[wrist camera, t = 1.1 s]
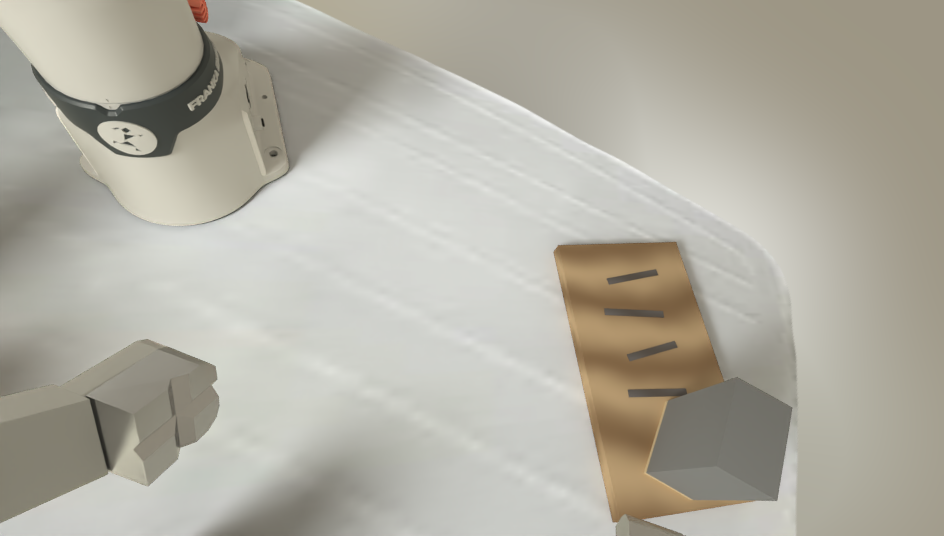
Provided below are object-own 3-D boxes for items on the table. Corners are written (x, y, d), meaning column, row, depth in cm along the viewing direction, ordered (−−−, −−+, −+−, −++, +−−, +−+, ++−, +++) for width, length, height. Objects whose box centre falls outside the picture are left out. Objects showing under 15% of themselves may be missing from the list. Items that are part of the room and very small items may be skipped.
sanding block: (690, 500, 40) (777, 500, 32) (643, 472, 41) (716, 466, 32) (709, 425, 44) (792, 407, 35) (665, 401, 44) (737, 377, 35)
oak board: (553, 251, 51) (558, 245, 49) (668, 248, 54) (676, 241, 52) (612, 521, 40) (621, 522, 39) (753, 499, 43) (765, 499, 41)
